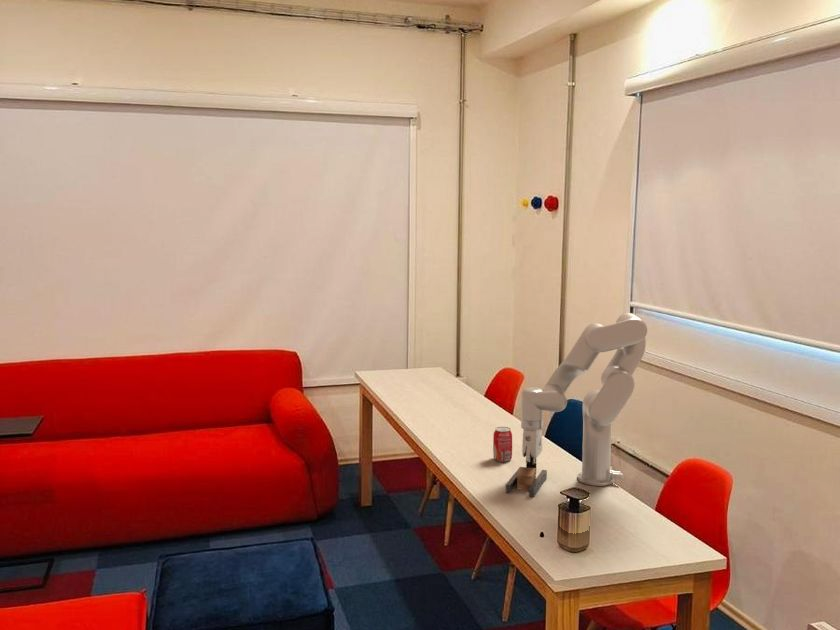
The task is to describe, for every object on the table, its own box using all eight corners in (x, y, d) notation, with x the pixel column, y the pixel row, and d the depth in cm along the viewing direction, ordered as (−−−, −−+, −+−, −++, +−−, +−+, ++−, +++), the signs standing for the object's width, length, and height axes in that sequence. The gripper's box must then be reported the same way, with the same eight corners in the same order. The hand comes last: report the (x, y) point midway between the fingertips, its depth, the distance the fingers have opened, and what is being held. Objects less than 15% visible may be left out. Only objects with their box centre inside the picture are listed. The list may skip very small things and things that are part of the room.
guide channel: (546, 478, 262) (546, 470, 262) (533, 497, 246) (534, 488, 245) (519, 474, 266) (520, 466, 266) (505, 493, 250) (505, 484, 249)
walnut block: (535, 482, 259) (535, 468, 259) (531, 490, 252) (532, 476, 251) (521, 480, 261) (521, 466, 260) (517, 489, 253) (517, 474, 253)
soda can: (500, 455, 287) (500, 425, 285) (515, 459, 282) (516, 428, 280) (489, 460, 281) (489, 429, 279) (505, 464, 277) (505, 433, 275)
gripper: (537, 430, 251) (536, 483, 254) (548, 418, 264) (546, 468, 267) (515, 428, 254) (514, 479, 257) (527, 416, 267) (526, 465, 270)
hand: (531, 473), depth 262 cm, fingers closed
